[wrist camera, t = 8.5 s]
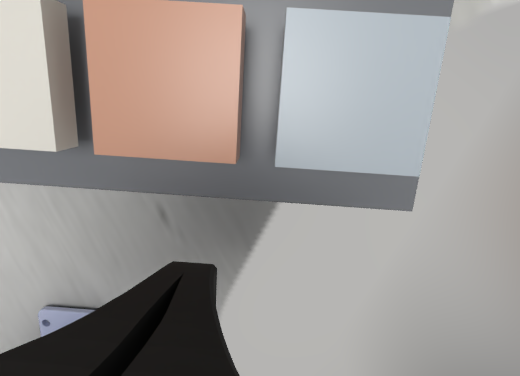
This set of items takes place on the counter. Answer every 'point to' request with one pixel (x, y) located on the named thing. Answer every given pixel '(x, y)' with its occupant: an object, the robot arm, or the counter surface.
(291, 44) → the slate key
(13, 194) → the counter surface
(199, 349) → the robot arm
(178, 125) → the terracotta key
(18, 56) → the ivory key
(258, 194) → the key console
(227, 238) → the counter surface
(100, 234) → the counter surface
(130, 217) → the counter surface
